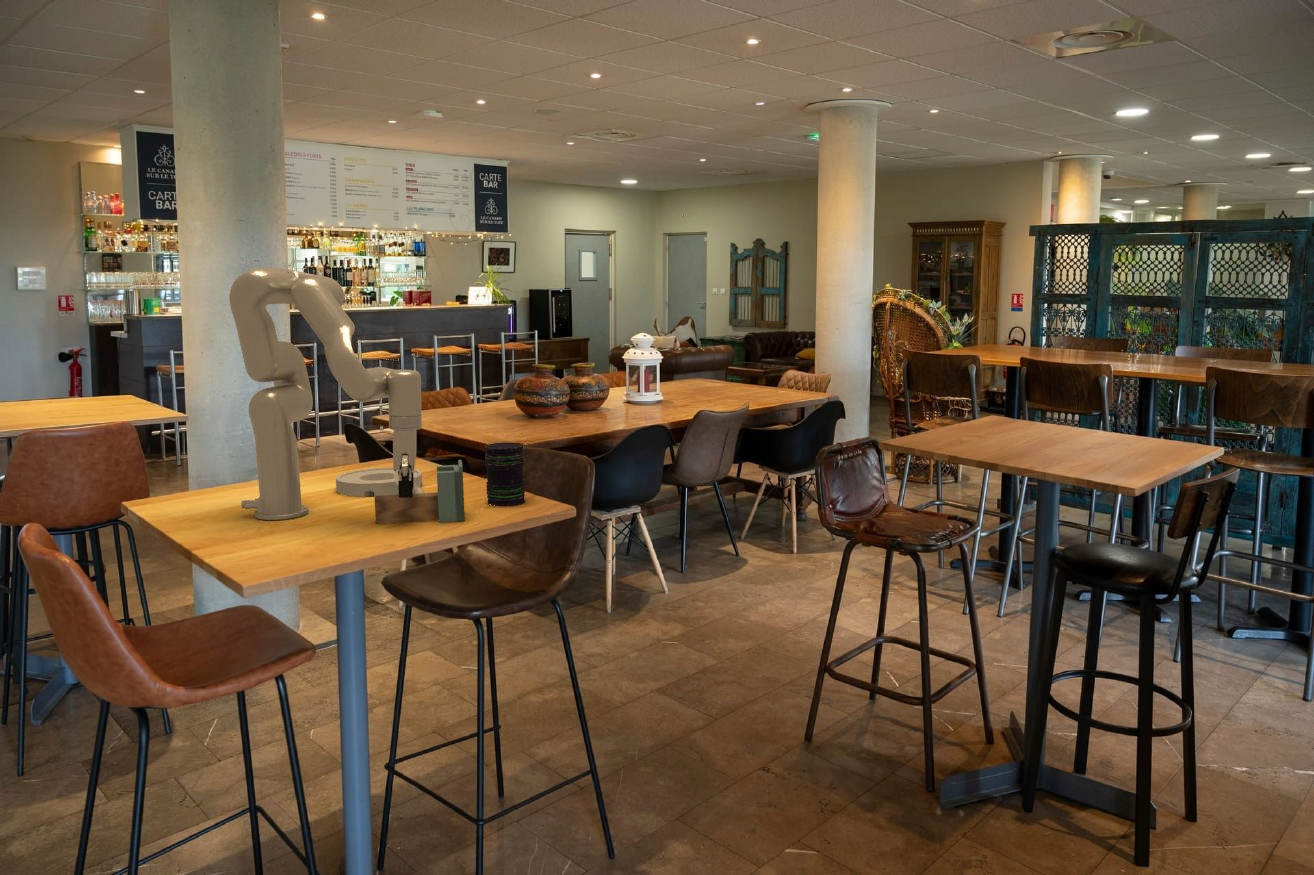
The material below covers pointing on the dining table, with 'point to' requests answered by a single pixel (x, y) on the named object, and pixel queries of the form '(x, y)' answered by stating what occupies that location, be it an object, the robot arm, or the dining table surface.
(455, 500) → the u-shaped channel piece
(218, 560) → the dining table surface
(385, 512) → the brown wooden block
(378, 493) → the ashtray
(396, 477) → the grey layered block
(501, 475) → the storage jar
